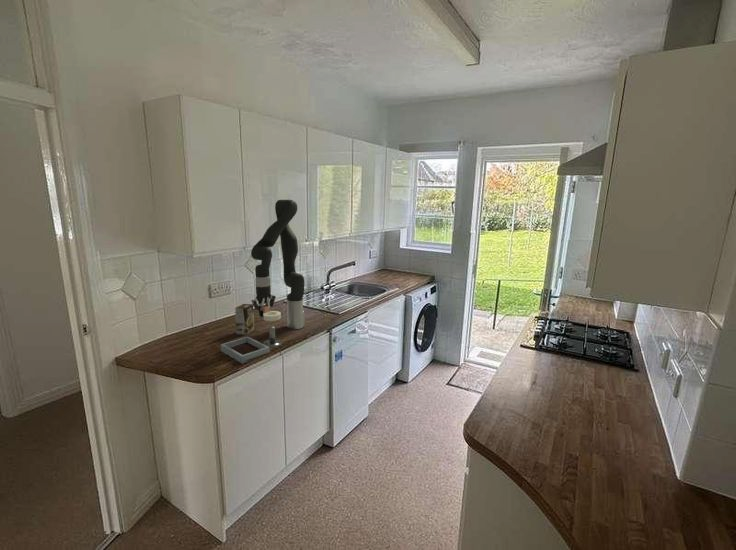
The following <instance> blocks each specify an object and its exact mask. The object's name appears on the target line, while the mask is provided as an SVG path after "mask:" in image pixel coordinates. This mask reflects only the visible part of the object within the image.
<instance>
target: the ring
mask: <svg viewBox="0 0 736 550" xmlns="http://www.w3.org/2000/svg"><path fill="white" fill-rule="evenodd" d="M262 318H263V320H264V321H265V322H275V321H278V320H280V319H282V313H281V311H278V310H271V307H269V306H267V305H265V304H264V306H263V317H262Z"/></svg>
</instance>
